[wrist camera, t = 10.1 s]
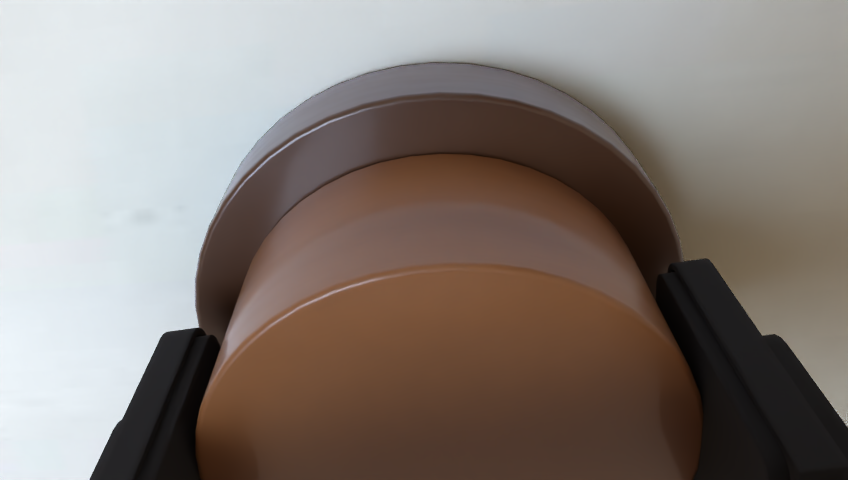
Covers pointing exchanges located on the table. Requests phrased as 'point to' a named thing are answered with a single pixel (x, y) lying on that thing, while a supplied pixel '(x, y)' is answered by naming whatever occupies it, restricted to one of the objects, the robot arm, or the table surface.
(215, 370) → the brown short cylinder
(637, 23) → the table surface
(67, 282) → the table surface
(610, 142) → the walnut chip
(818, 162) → the table surface
